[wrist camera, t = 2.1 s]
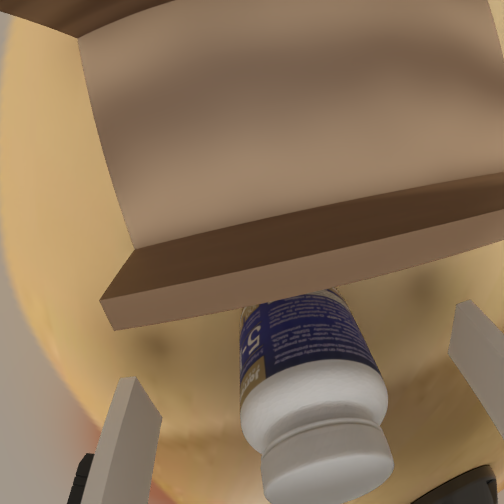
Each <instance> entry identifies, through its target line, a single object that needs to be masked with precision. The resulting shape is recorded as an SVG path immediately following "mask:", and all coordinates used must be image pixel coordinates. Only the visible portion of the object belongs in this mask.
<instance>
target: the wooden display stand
mask: <svg viewBox="0 0 504 504" xmlns="http://www.w3.org/2000/svg"><path fill="white" fill-rule="evenodd" d="M0 11H1V12H4V13H8V14H11V15H14V16H17V17H20V18H23V19H26V20H29V21H32V22H35V23H38V24H41V25H44V26H46V27H49V28H52V29H55V30H57V31H60V32H63V33H65V34H68V35H70V36H73V37H75V38H78V44H79V50H80V55H81V60H82V66H83V71H84V75H85V80H86V85H87V89H88V94H89V98H90V103H91V107H92V111H93V115H94V119H95V123H96V127H97V131H98V135H99V138H100V142H101V146H102V149H103V153H104V156H105V160H106V163H107V167H108V170H109V174H110V177H111V180H112V183H113V187H114V190H115V193H116V196H117V199H118V202H119V205H120V208H121V211H122V214H123V217H124V220H125V223H126V226H127V229H128V232H129V234H130V237H131V240H132V243H133V246H134V248H135V250H134V251H133V253H132V254H131V255H130V257H129V258H128V260H127V261H126V262H125V264H124V265H123V267H122V268H121V270H120V271H119V272H118V274H117V275H116V277H115V278H114V280H113V281H112V282H111V284H110V285H109V287H108V288H107V290H106V291H105V293H104V294H103V296H102V297H101V299H100V300H99V301H100V303H101V305H102V307H103V310H104V312H105V314H106V316H107V318H108V320H109V322H110V324H111V326H112V328H113V330H114V331H116V330H122V329H129V328H135V327H141V326H147V325H153V324H159V323H164V322H170V321H176V320H181V319H187V318H192V317H198V316H203V315H208V314H213V313H218V312H223V311H228V310H233V309H238V308H243V307H248V306H253V305H258V304H262V303H267V302H272V301H276V300H281V299H285V298H290V297H294V296H299V295H303V294H307V293H312V292H316V291H320V290H324V289H329V288H333V287H337V286H341V285H345V284H349V283H353V282H357V281H361V280H365V279H369V278H373V277H377V276H381V275H385V274H388V273H392V272H396V271H400V270H403V269H407V268H411V267H414V266H418V265H421V264H425V263H429V262H432V261H436V260H439V259H443V258H446V257H449V256H453V255H456V254H460V253H463V252H466V251H470V250H473V249H476V248H479V247H483V246H486V245H489V244H492V243H495V242H498V241H502V240H504V59H503V55H502V50H501V46H500V42H499V38H498V34H497V30H496V26H495V23H494V19H493V16H492V13H491V9H490V6H489V3H488V0H0Z"/></svg>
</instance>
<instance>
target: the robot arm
mask: <svg viewBox="0 0 504 504" xmlns="http://www.w3.org/2000/svg"><path fill="white" fill-rule="evenodd" d="M448 355H449V356H450V357H451V359H452V360H453V362H454V363H455V365H456V366H457V367H458V369H459V370H460V372H461V373H462V375H463V376H464V378H465V379H466V381H467V382H468V384H469V385H470V387H471V388H472V390H473V391H474V393H475V394H476V396H477V397H478V399H479V400H480V402H481V403H482V405H483V407H484V408H485V410H486V411H487V413H488V415H489V416H490V418H491V419H492V421H493V423H494V424H495V426H496V428H497V429H498V431H499V433H500V434H501V436H502V438H503V439H504V334H503V333H502V332H501V331H500V330H499V329H498V328H497V327H496V325H495V324H494V323H493V322H492V321H491V320H490V319H489V318H488V317H487V316H486V315H485V314H484V313H483V312H482V311H481V310H480V309H479V308H478V307H477V306H476V305H475V304H474V303H473V302H472V301H471V300H467V301H464V302H462V303H459V304H456V309H455V316H454V322H453V328H452V334H451V339H450V344H449V349H448ZM161 422H162V416H161V415H160V413H159V412H158V410H157V409H156V407H155V406H154V404H153V403H152V401H151V400H150V398H149V396H148V395H147V393H146V392H145V390H144V389H143V387H142V385H141V384H140V382H139V381H138V379H137V377H125V378H120V379H119V382H118V385H117V388H116V391H115V394H114V396H113V399H112V402H111V405H110V408H109V411H108V414H107V417H106V420H105V423H104V426H103V429H102V432H101V435H100V439H99V442H98V445H97V448H96V451H95V454H89V453H87V454H86V455H85V456H84V458H83V459H82V460H81V462H80V463H79V466H78V469H77V472H76V477H75V478H74V482H73V486H72V488H71V492H70V495H69V499H68V502H67V504H148V498H149V491H150V485H151V479H152V473H153V467H154V461H155V455H156V449H157V444H158V438H159V433H160V427H161ZM413 504H498V498H497V483H496V476H495V474H494V472H493V470H492V468H491V466H483V467H479V468H477V469H474V470H472V471H470V472H467V473H465V474H463V475H461V476H459V477H457V478H455V479H453V480H451V481H449V482H447V483H446V484H444V485H442V486H440V487H438V488H437V489H435V490H433V491H431V492H430V493H428V494H426V495H425V496H423V497H422V498H420V499H418V500H417V501H415V502H414V503H413Z"/></svg>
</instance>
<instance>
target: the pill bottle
mask: <svg viewBox="0 0 504 504" xmlns="http://www.w3.org/2000/svg"><path fill="white" fill-rule="evenodd" d="M387 408H388V393H387V389H386V386H385V383H384V381H383V378H382V376H381V374H380V371H379V369H378V367H377V365H376V363H375V361H374V359H373V357H372V355H371V353H370V351H369V349H368V346H367V344H366V342H365V340H364V338H363V336H362V334H361V332H360V330H359V328H358V326H357V324H356V322H355V320H354V318H353V316H352V314H351V312H350V310H349V308H348V306H347V304H346V302H345V301H344V299H343V297H342V296H341V295H340V293H339V292H338V291H337V290H336V289H335V288H334V287H333V288H329V289H324V290H320V291H316V292H312V293H307V294H303V295H299V296H294V297H290V298H285V299H281V300H276V301H272V302H267V303H262V304H258V305H253V306H248V307H244V309H243V312H242V315H241V319H240V419H241V428H242V432H243V434H244V437H245V438H246V440H247V441H248V443H249V444H250V445H251V446H252V447H253V448H254V449H255V450H256V451H258V452H259V453H261V454H262V457H261V473H262V482H263V490H264V495H265V497H266V499H267V500H268V501H269V502H270V503H272V504H341V503H345V502H348V501H351V500H354V499H356V498H358V497H361V496H363V495H365V494H367V493H369V492H371V491H372V490H374V489H376V488H377V487H378V486H380V485H381V484H382V483H384V482H385V481H386V480H387V479H388V477H389V476H390V475H391V474H392V471H393V469H394V461H393V457H392V454H391V451H390V448H389V445H388V442H387V439H386V437H385V435H384V433H383V430H382V428H381V427H380V424H381V423H382V421H383V419H384V417H385V414H386V411H387Z"/></svg>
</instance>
